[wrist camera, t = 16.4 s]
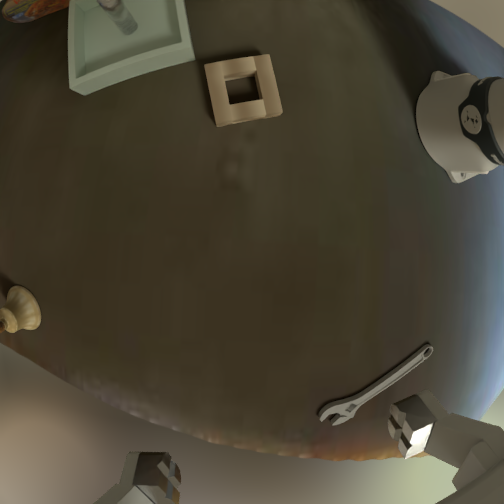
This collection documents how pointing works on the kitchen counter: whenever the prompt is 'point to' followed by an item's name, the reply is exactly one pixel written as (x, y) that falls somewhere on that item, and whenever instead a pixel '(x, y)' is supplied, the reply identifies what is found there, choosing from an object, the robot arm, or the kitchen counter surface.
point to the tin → (31, 9)
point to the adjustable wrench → (372, 389)
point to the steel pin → (119, 15)
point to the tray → (125, 42)
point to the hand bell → (19, 311)
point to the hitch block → (241, 69)
